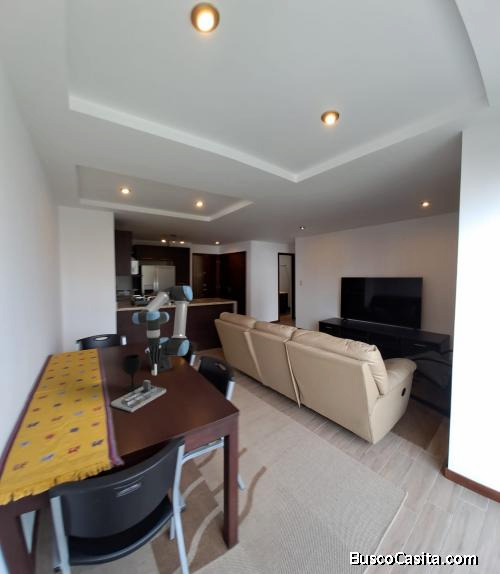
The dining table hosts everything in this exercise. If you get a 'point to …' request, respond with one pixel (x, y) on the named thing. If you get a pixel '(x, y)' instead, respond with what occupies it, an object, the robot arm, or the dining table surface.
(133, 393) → the console
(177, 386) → the dining table surface
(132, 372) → the wine glass
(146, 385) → the fader knob
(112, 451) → the dining table surface
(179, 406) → the dining table surface
